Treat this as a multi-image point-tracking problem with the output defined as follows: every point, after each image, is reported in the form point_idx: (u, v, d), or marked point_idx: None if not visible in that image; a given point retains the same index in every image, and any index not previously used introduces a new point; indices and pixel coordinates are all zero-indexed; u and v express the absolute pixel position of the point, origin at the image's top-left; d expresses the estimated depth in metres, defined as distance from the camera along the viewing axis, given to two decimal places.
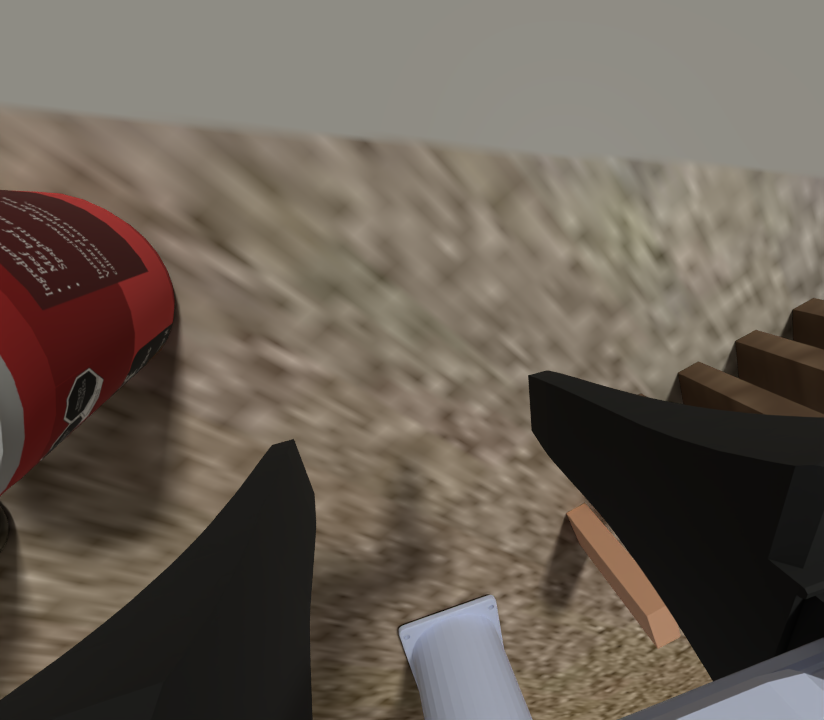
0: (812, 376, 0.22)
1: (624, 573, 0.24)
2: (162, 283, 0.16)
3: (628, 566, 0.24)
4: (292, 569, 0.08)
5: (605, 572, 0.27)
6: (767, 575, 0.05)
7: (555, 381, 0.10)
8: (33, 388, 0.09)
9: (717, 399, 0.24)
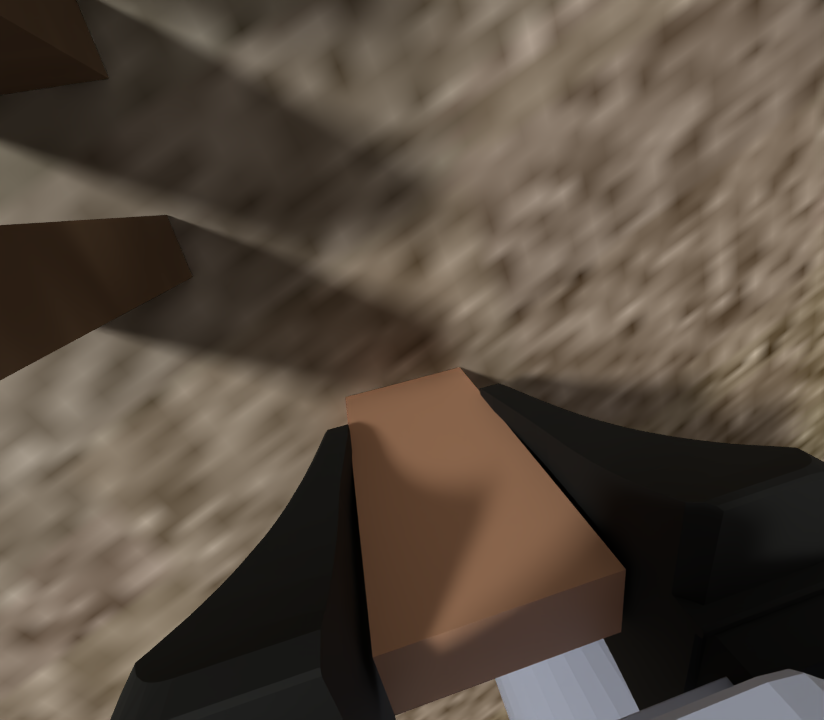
0: None
1: None
2: None
3: None
4: None
5: None
6: (672, 610, 0.05)
7: (501, 396, 0.10)
8: None
9: None
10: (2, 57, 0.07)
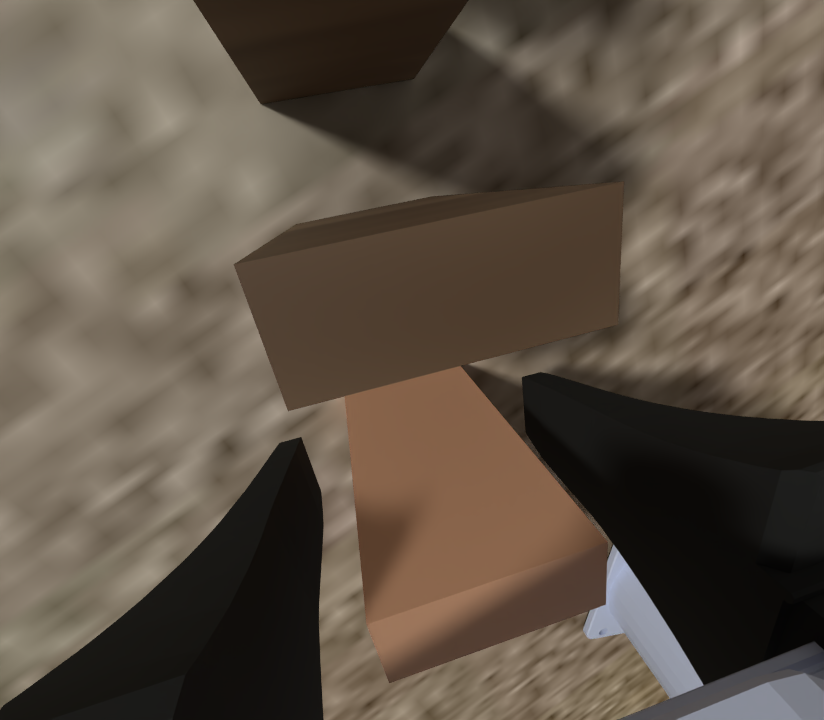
0: None
1: None
2: None
3: None
4: (301, 567, 0.08)
5: None
6: (755, 580, 0.05)
7: (548, 383, 0.10)
8: None
9: (274, 61, 0.07)
10: (389, 61, 0.08)
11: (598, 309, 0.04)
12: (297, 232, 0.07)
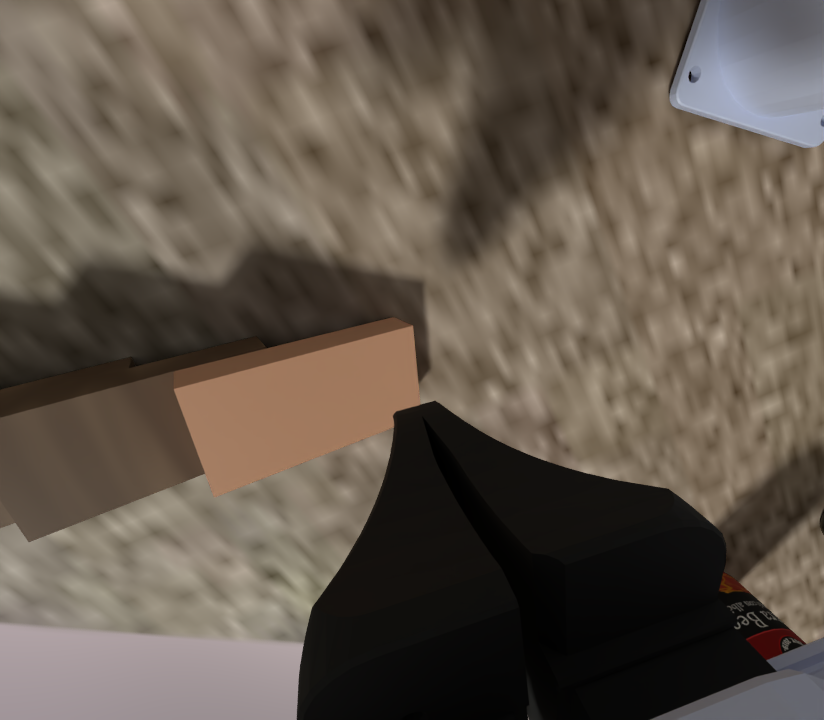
0: None
1: None
2: None
3: None
4: None
5: (327, 396, 0.13)
6: (541, 658, 0.05)
7: (430, 415, 0.10)
8: None
9: None
10: None
11: None
12: None
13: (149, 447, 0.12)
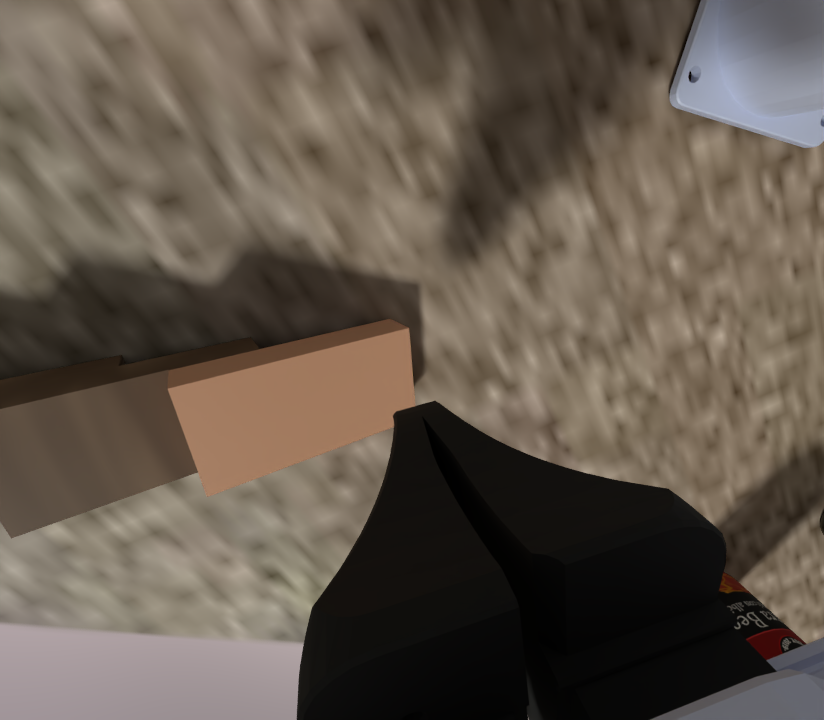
0: None
1: None
2: None
3: None
4: None
5: (321, 397, 0.13)
6: (541, 658, 0.05)
7: (430, 415, 0.10)
8: None
9: None
10: None
11: None
12: None
13: (137, 445, 0.12)
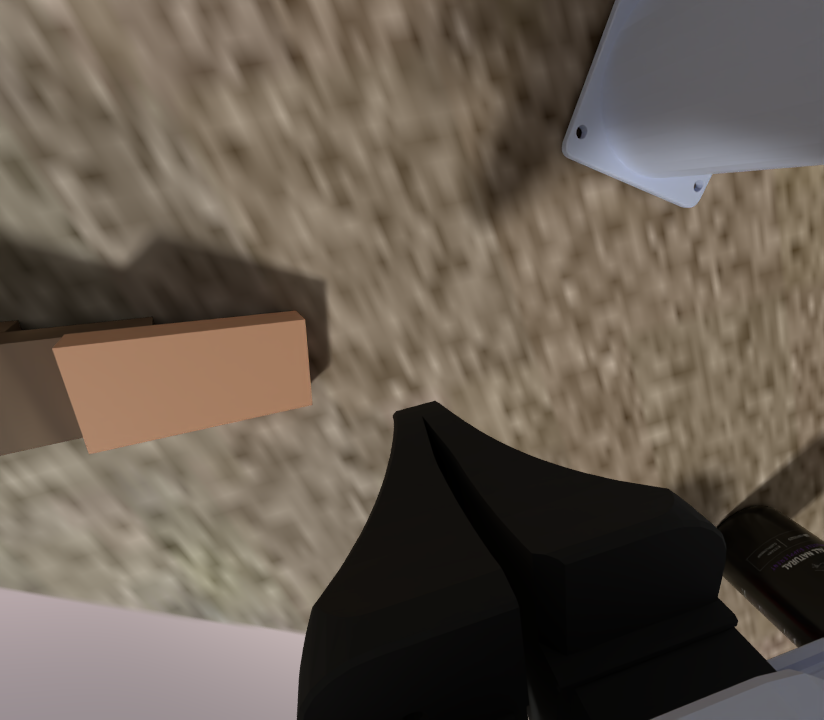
0: None
1: None
2: None
3: None
4: None
5: (212, 373, 0.15)
6: (541, 658, 0.05)
7: (430, 416, 0.10)
8: None
9: None
10: None
11: None
12: None
13: (20, 406, 0.13)
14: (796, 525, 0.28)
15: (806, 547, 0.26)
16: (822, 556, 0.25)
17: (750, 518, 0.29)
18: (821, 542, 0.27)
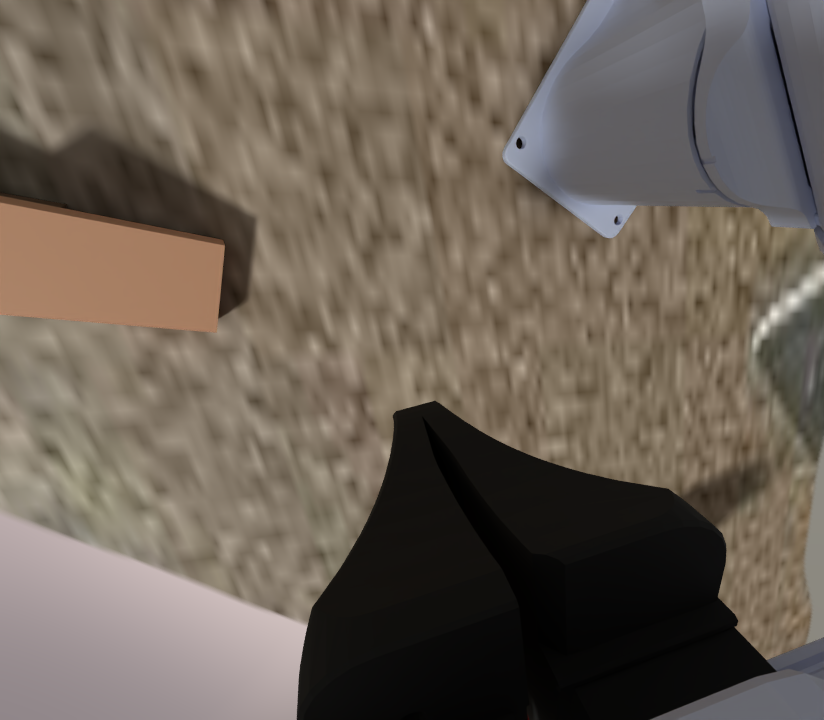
0: None
1: None
2: None
3: None
4: None
5: (116, 269, 0.15)
6: (541, 658, 0.05)
7: (430, 415, 0.10)
8: None
9: None
10: None
11: None
12: None
13: None
14: None
15: None
16: None
17: None
18: None
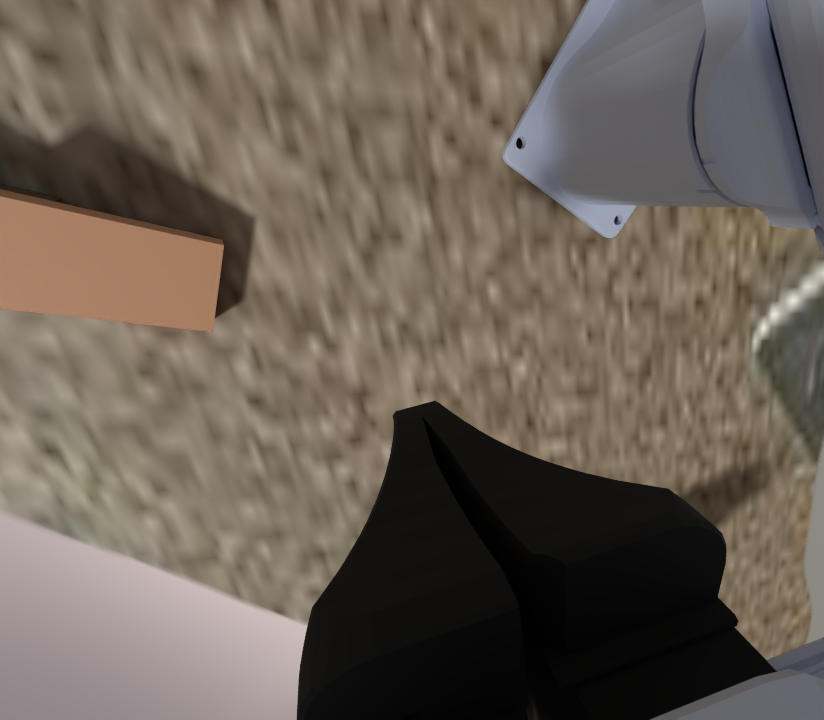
0: None
1: None
2: None
3: None
4: None
5: (113, 266, 0.15)
6: (541, 658, 0.05)
7: (430, 415, 0.10)
8: None
9: None
10: None
11: None
12: None
13: None
14: None
15: None
16: None
17: None
18: None
